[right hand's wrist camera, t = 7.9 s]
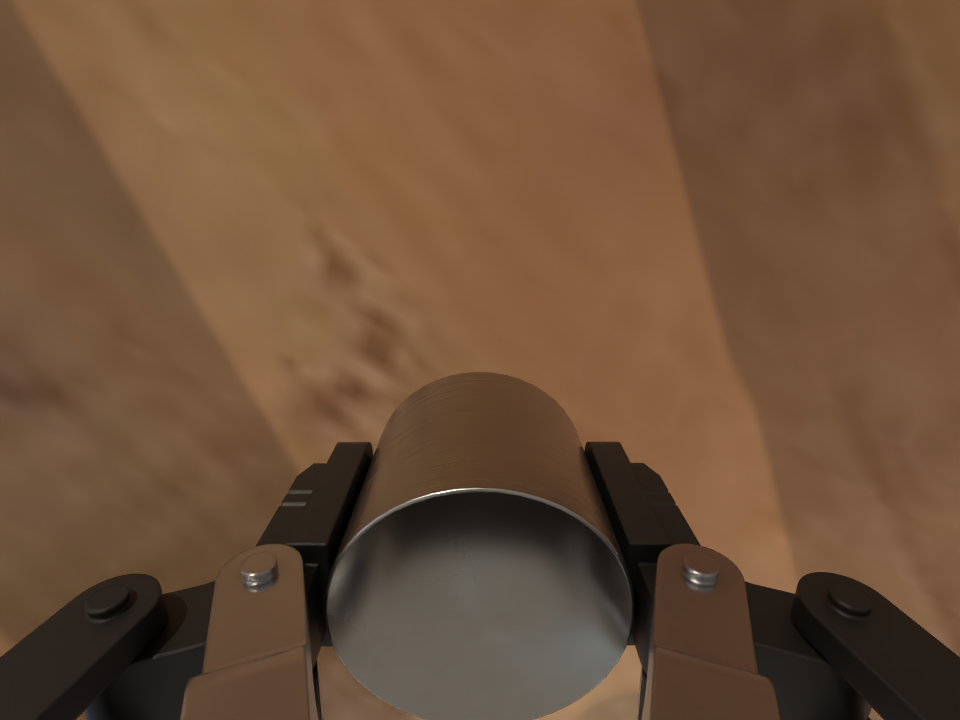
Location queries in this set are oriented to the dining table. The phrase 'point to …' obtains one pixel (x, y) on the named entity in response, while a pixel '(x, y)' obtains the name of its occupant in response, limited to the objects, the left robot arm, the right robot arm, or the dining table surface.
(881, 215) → the dining table surface
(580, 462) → the can
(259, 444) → the dining table surface
